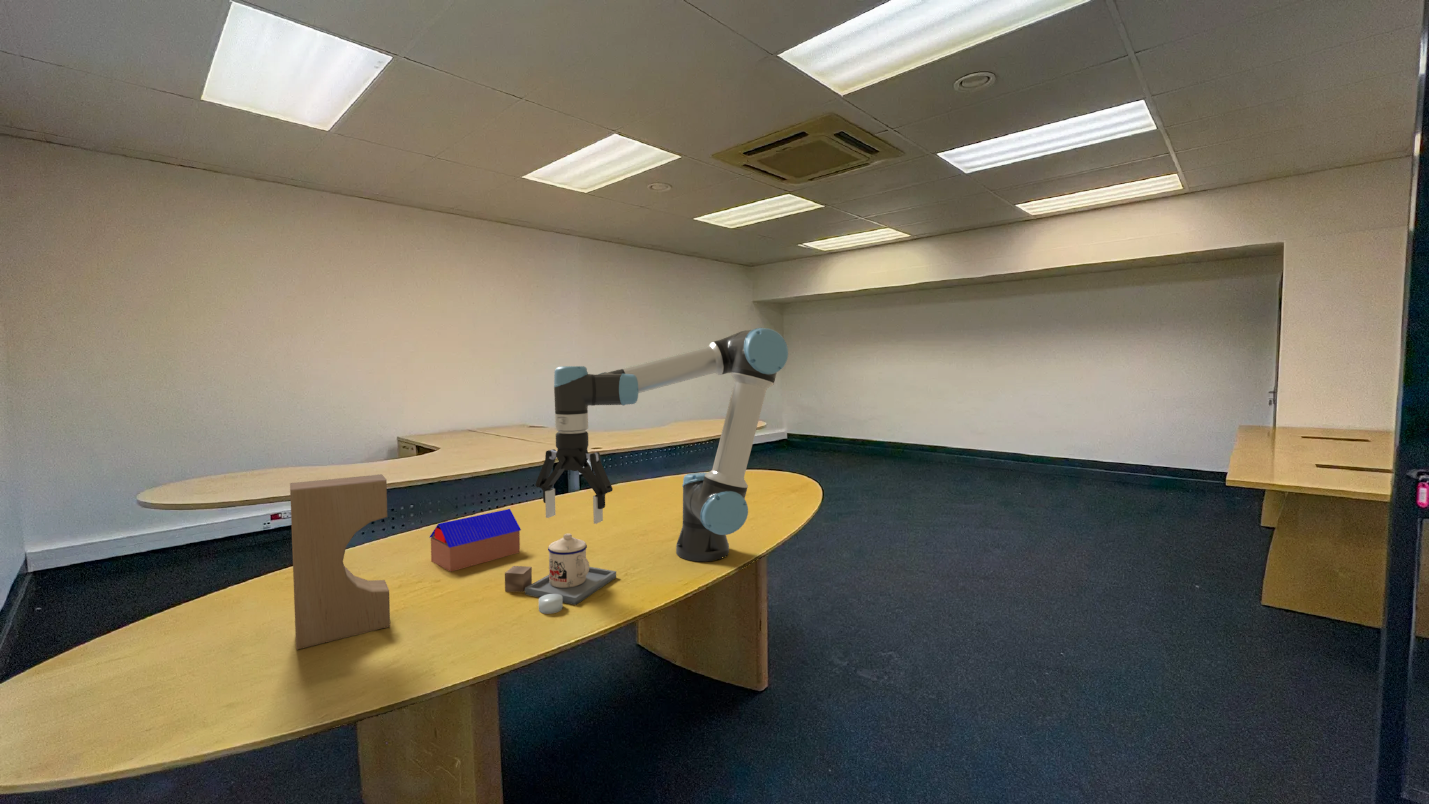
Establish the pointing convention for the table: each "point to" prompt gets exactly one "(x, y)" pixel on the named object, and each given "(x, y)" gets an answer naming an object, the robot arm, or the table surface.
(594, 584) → the tray
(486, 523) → the house
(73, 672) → the table surface
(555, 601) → the white egg-shaped dome
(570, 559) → the teacup with lid
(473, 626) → the table surface
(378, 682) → the table surface
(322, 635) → the decorative block
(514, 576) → the walnut cube
